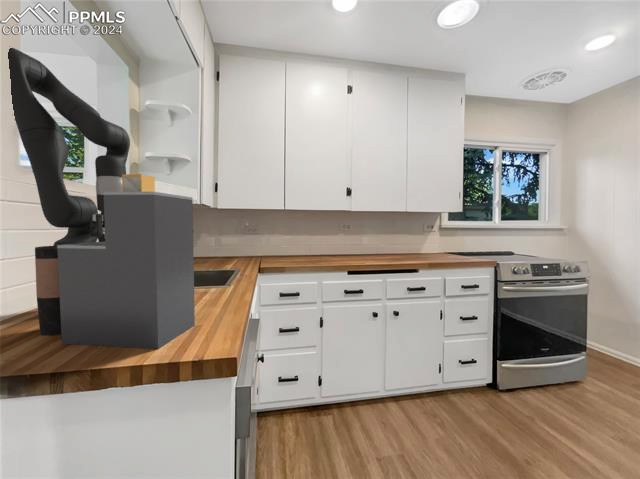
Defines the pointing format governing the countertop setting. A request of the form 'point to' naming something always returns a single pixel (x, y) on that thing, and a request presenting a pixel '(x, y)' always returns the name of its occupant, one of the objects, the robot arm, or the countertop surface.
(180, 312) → the grey stepped block
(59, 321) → the travel mug
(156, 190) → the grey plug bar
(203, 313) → the countertop surface
